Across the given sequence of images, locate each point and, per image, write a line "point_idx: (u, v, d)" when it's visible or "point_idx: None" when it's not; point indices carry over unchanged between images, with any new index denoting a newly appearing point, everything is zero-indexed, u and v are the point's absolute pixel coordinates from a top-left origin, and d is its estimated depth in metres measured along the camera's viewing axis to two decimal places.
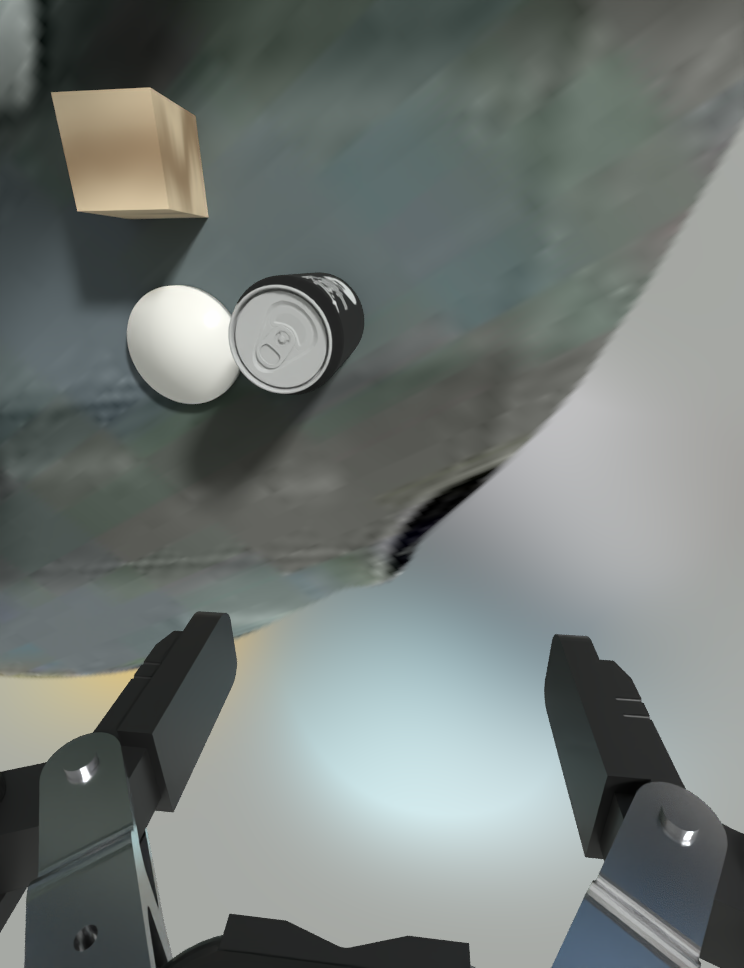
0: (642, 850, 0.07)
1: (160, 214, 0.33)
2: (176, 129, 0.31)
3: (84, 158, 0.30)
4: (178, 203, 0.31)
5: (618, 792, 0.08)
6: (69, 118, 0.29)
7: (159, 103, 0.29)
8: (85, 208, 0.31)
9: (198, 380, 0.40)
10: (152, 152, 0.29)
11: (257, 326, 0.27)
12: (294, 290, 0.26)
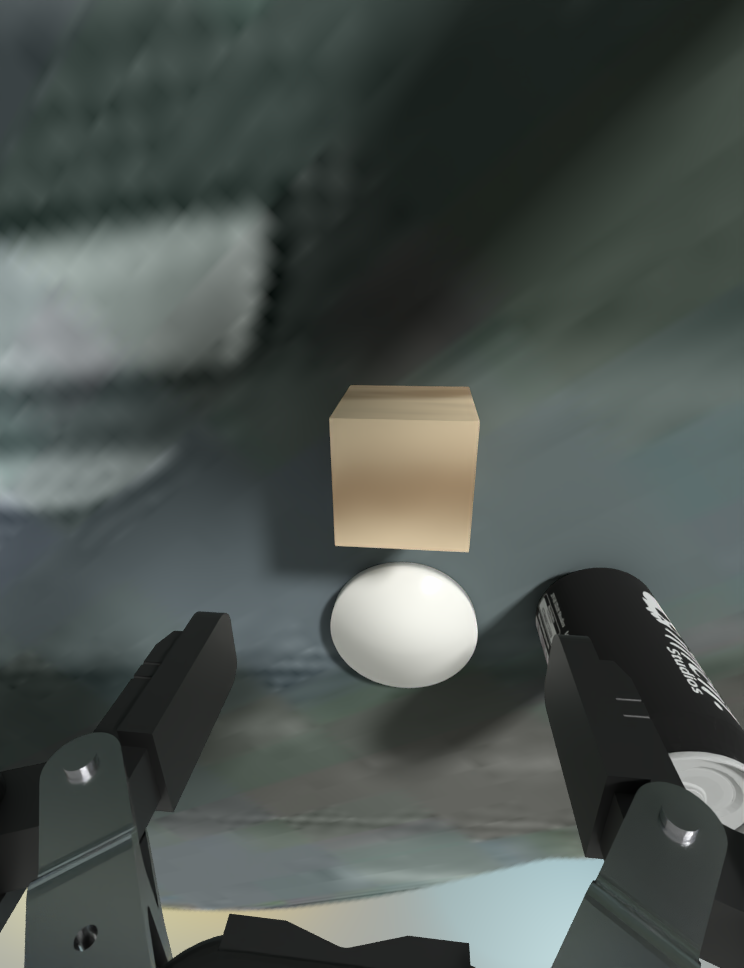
0: (642, 850, 0.07)
1: None
2: None
3: (359, 491, 0.21)
4: None
5: (618, 792, 0.08)
6: (350, 447, 0.20)
7: None
8: (347, 543, 0.22)
9: (416, 665, 0.31)
10: (462, 491, 0.21)
11: None
12: (734, 766, 0.17)
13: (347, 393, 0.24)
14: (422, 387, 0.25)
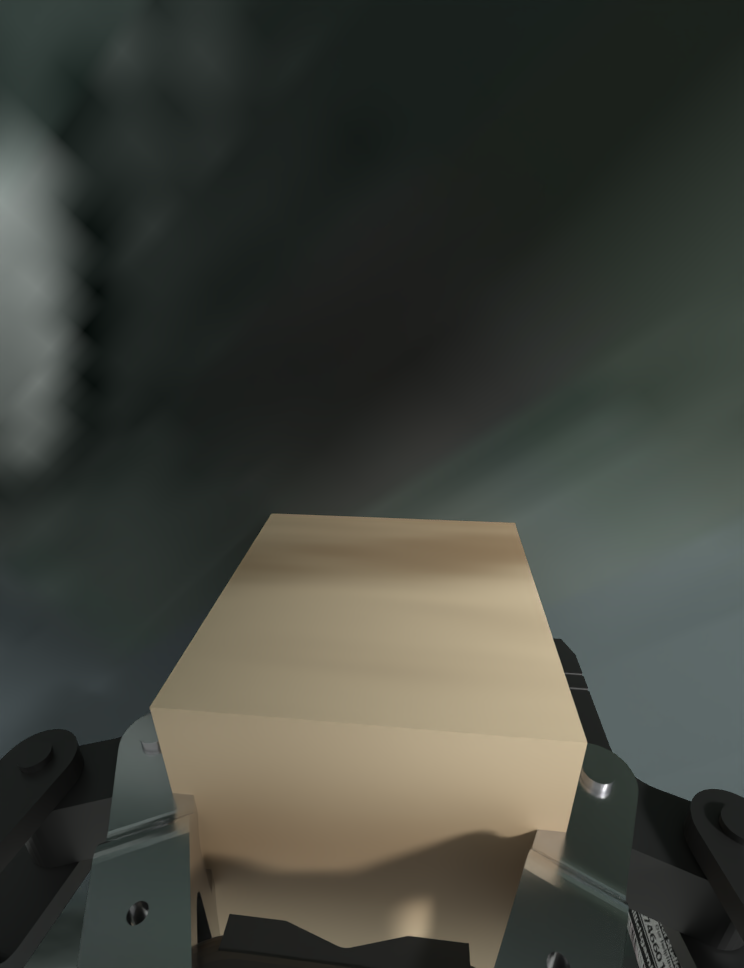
0: None
1: None
2: None
3: (254, 854, 0.08)
4: None
5: None
6: (216, 771, 0.07)
7: None
8: None
9: None
10: None
11: None
12: None
13: (252, 552, 0.11)
14: (417, 526, 0.12)
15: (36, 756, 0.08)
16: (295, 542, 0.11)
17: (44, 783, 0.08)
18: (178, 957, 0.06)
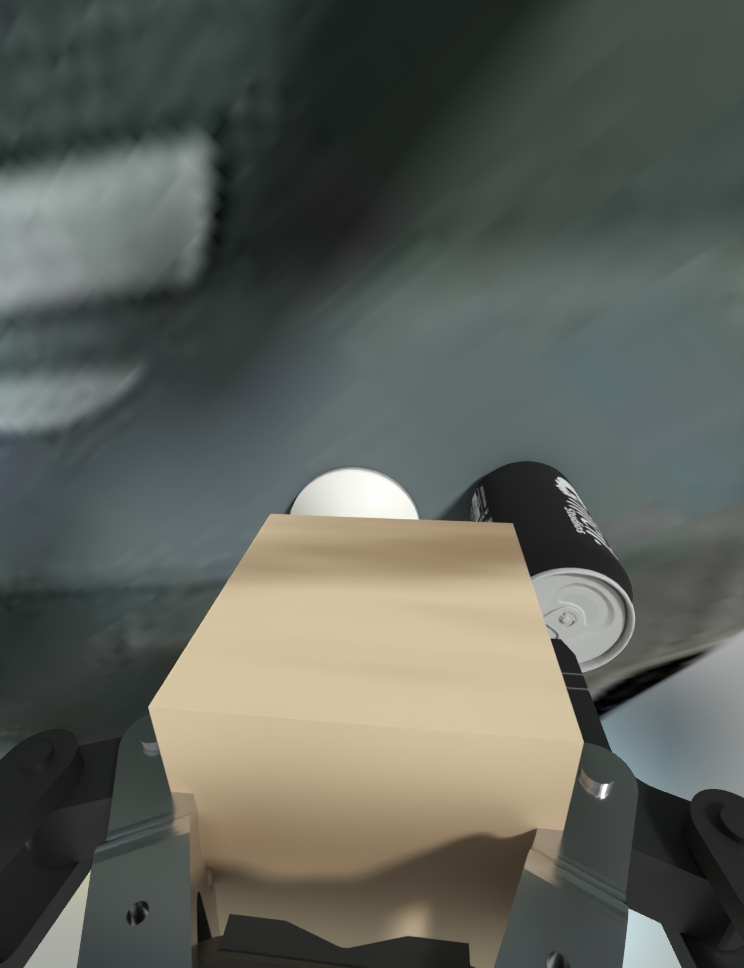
0: None
1: None
2: None
3: (253, 853, 0.08)
4: None
5: None
6: (215, 771, 0.07)
7: None
8: None
9: None
10: None
11: None
12: (599, 577, 0.20)
13: (251, 553, 0.11)
14: (416, 526, 0.12)
15: (36, 756, 0.08)
16: (294, 542, 0.11)
17: (44, 783, 0.08)
18: (178, 957, 0.06)
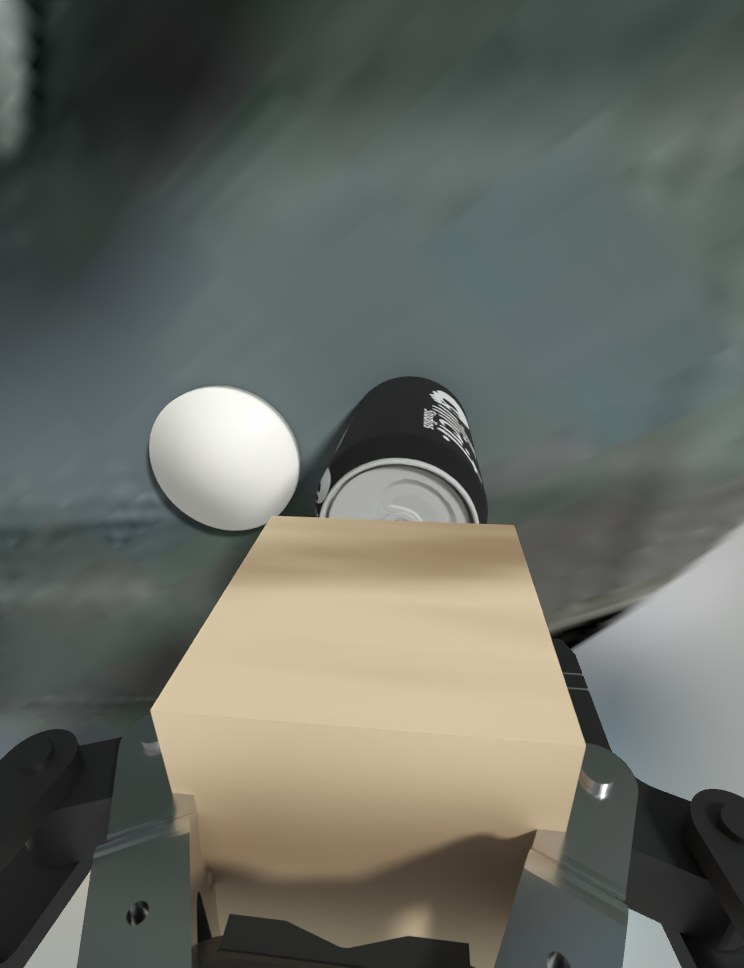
0: None
1: None
2: None
3: (255, 856, 0.08)
4: None
5: None
6: (217, 775, 0.07)
7: None
8: None
9: (242, 503, 0.30)
10: None
11: (364, 511, 0.17)
12: (429, 469, 0.16)
13: (252, 555, 0.11)
14: (417, 528, 0.12)
15: (35, 756, 0.08)
16: (295, 544, 0.11)
17: (44, 783, 0.08)
18: (178, 957, 0.06)
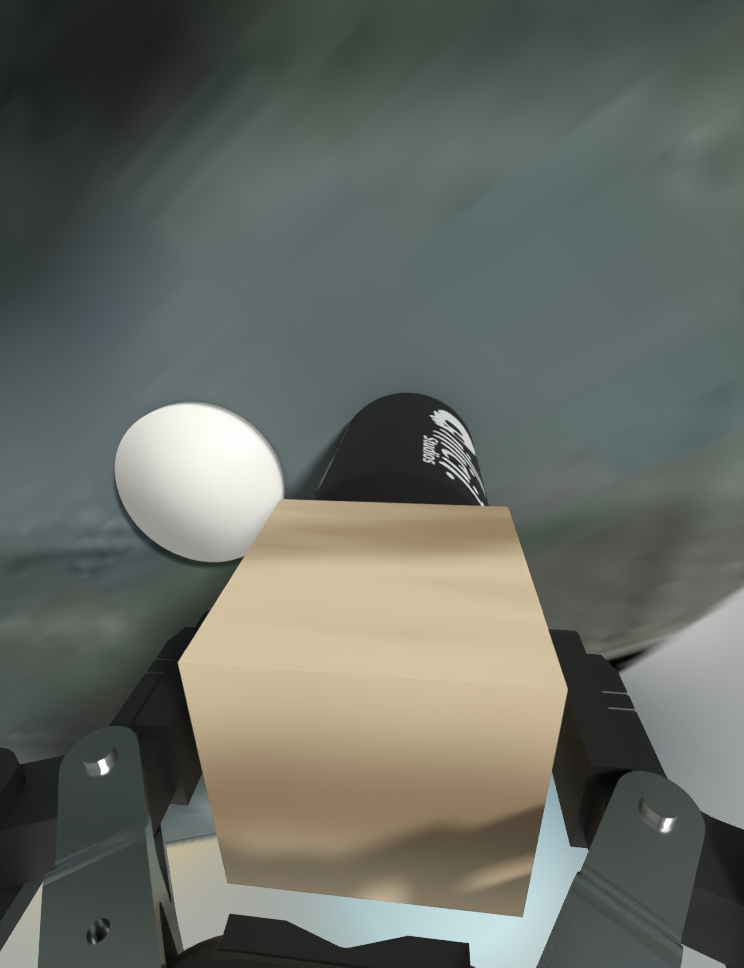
0: (622, 836, 0.07)
1: None
2: None
3: (270, 802, 0.09)
4: None
5: (601, 781, 0.08)
6: (236, 723, 0.08)
7: None
8: (253, 882, 0.10)
9: (219, 532, 0.27)
10: (513, 819, 0.09)
11: None
12: None
13: (263, 533, 0.12)
14: (417, 509, 0.13)
15: None
16: (303, 524, 0.12)
17: None
18: (146, 965, 0.05)
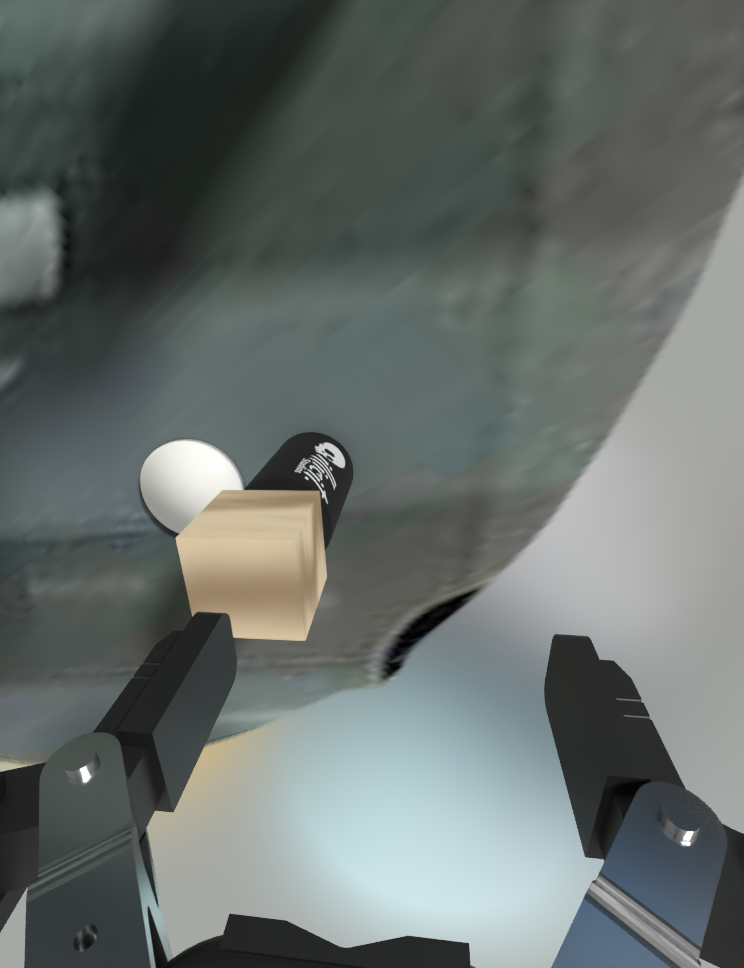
0: (642, 850, 0.07)
1: None
2: (309, 539, 0.27)
3: (209, 593, 0.25)
4: (310, 617, 0.27)
5: (618, 792, 0.08)
6: (195, 560, 0.25)
7: (299, 541, 0.25)
8: None
9: None
10: (291, 593, 0.25)
11: None
12: None
13: (211, 502, 0.28)
14: (280, 492, 0.29)
15: None
16: (229, 499, 0.28)
17: None
18: None
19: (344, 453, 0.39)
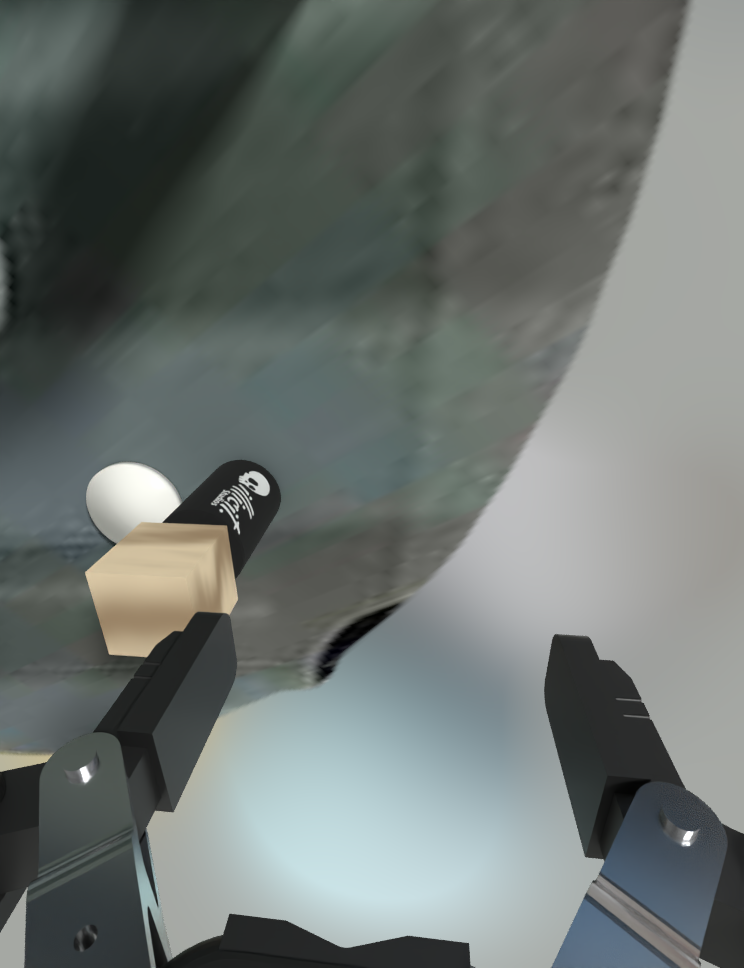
0: (642, 850, 0.07)
1: None
2: (209, 572, 0.30)
3: (117, 619, 0.29)
4: None
5: (618, 792, 0.08)
6: (103, 591, 0.28)
7: (194, 577, 0.28)
8: (117, 653, 0.30)
9: None
10: (187, 621, 0.29)
11: None
12: None
13: (127, 535, 0.32)
14: (191, 526, 0.33)
15: None
16: (144, 532, 0.32)
17: None
18: None
19: (270, 480, 0.43)
